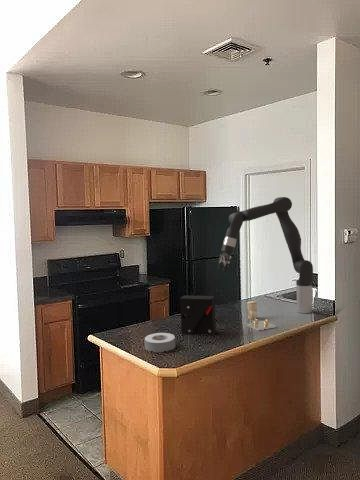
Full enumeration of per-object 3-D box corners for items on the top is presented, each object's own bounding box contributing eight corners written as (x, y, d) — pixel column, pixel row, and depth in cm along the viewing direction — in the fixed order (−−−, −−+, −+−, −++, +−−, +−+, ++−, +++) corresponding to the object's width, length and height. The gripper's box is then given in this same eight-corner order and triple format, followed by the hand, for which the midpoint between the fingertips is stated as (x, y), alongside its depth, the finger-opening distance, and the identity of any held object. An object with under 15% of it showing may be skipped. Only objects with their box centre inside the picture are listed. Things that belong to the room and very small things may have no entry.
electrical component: (216, 330, 224) (215, 295, 223) (212, 336, 215) (210, 299, 213) (186, 328, 230) (185, 294, 229) (181, 334, 220) (179, 298, 219)
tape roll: (178, 350, 196) (177, 340, 195) (147, 354, 193) (146, 343, 192) (172, 340, 211) (171, 331, 210) (143, 344, 208) (142, 334, 207)
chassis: (246, 325, 231) (246, 319, 231) (263, 322, 236) (263, 316, 236) (258, 330, 220) (258, 324, 220) (276, 327, 225) (276, 321, 225)
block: (247, 318, 247) (247, 302, 246) (253, 317, 248) (252, 301, 247) (251, 319, 243) (251, 303, 242) (257, 318, 245) (256, 302, 244)
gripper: (239, 247, 236) (232, 274, 236) (230, 245, 249) (223, 270, 249) (227, 244, 234) (220, 271, 234) (219, 242, 247) (212, 268, 247)
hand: (221, 271), depth 241 cm, fingers open, 8 cm apart
